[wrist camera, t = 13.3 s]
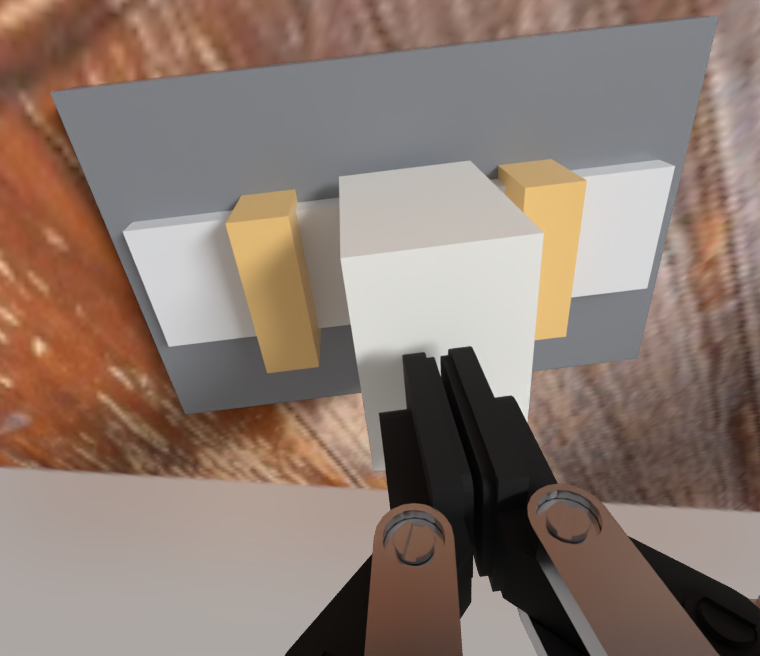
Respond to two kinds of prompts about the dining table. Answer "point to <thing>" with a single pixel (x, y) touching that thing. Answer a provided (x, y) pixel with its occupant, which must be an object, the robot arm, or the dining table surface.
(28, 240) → the dining table surface
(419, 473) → the robot arm
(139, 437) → the dining table surface
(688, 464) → the dining table surface
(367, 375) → the block
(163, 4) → the dining table surface
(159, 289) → the rail board
